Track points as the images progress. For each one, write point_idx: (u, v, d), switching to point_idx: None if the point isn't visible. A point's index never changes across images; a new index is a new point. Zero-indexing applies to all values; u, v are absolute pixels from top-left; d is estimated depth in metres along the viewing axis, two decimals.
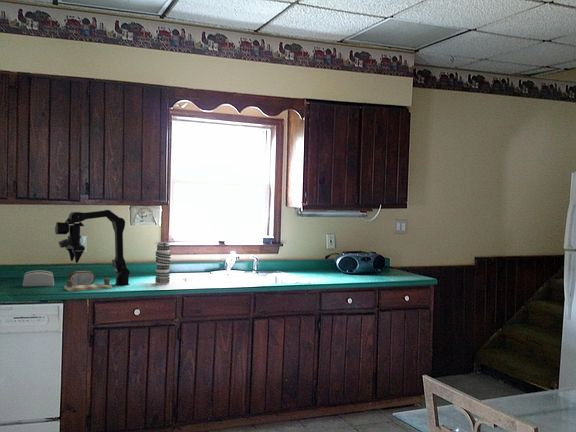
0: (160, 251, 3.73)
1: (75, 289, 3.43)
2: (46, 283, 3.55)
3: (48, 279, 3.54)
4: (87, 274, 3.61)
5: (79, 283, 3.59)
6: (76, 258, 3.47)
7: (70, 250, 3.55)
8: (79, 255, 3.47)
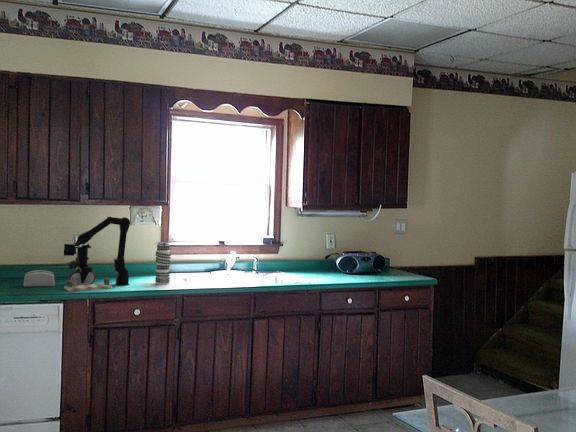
0: (160, 251, 3.73)
1: (75, 289, 3.43)
2: (47, 283, 3.55)
3: (49, 279, 3.54)
4: None
5: (79, 283, 3.59)
6: (82, 278, 3.58)
7: None
8: (85, 275, 3.59)
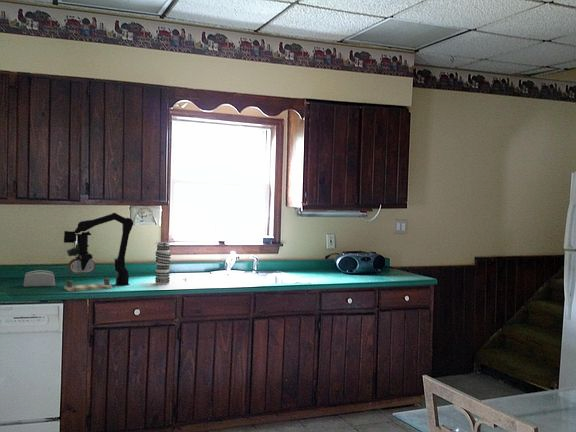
0: (160, 251, 3.73)
1: (75, 289, 3.43)
2: (47, 283, 3.55)
3: (49, 279, 3.55)
4: None
5: (79, 270, 3.59)
6: (82, 265, 3.58)
7: None
8: (85, 263, 3.59)
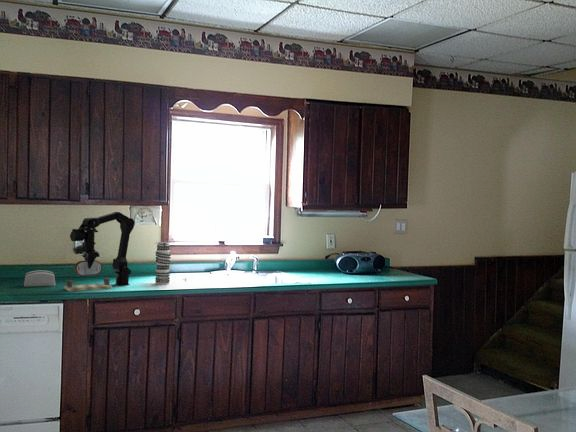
0: (160, 251, 3.73)
1: (75, 289, 3.43)
2: (47, 283, 3.55)
3: (49, 279, 3.55)
4: (93, 263, 3.51)
5: (86, 273, 3.49)
6: (89, 264, 3.49)
7: None
8: (92, 261, 3.49)
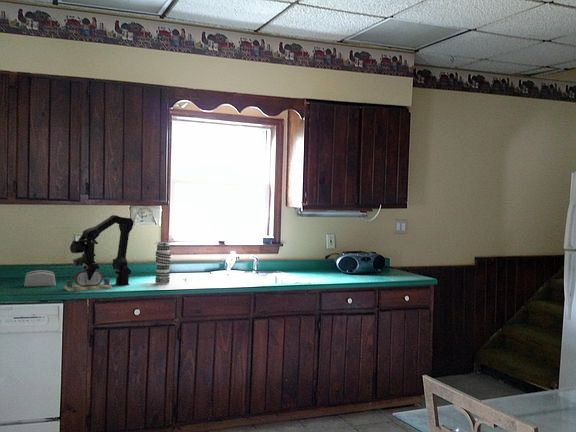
0: (160, 251, 3.73)
1: (75, 289, 3.43)
2: (48, 283, 3.55)
3: (50, 279, 3.55)
4: (94, 274, 3.51)
5: (86, 283, 3.49)
6: (89, 275, 3.49)
7: (86, 269, 3.52)
8: (92, 272, 3.49)
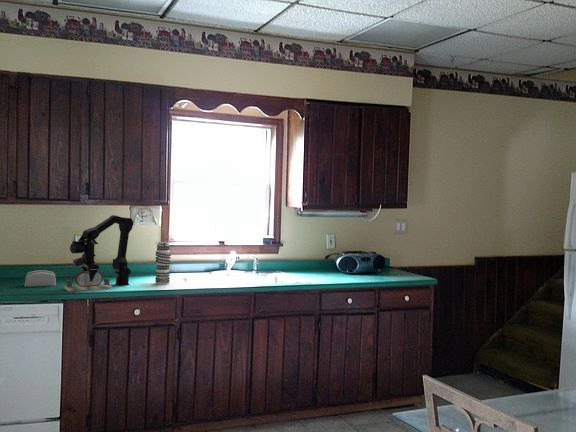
0: (160, 251, 3.73)
1: (75, 289, 3.43)
2: (48, 283, 3.55)
3: (50, 279, 3.55)
4: None
5: (86, 284, 3.49)
6: (90, 277, 3.46)
7: (84, 268, 3.54)
8: (93, 273, 3.46)
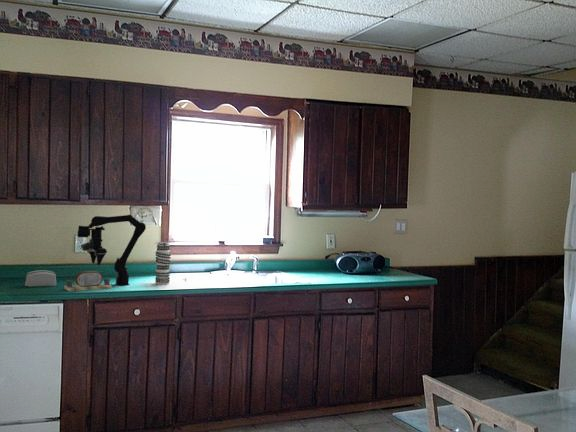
0: (160, 251, 3.73)
1: (75, 289, 3.43)
2: (49, 283, 3.56)
3: (51, 279, 3.55)
4: (94, 274, 3.51)
5: (86, 284, 3.49)
6: (98, 261, 3.60)
7: (91, 253, 3.68)
8: (101, 258, 3.60)
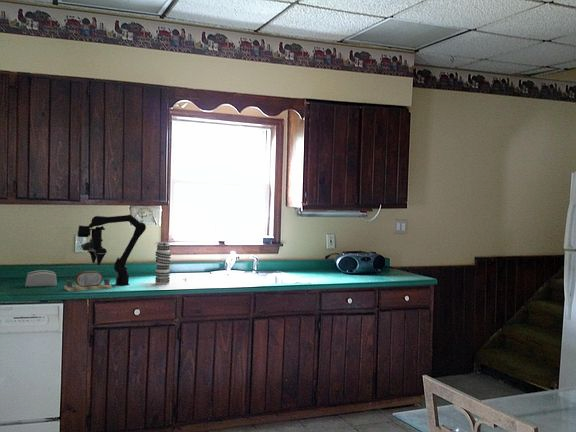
0: (160, 251, 3.73)
1: (75, 289, 3.43)
2: (49, 283, 3.56)
3: (51, 279, 3.55)
4: (94, 274, 3.51)
5: (86, 284, 3.49)
6: (98, 260, 3.60)
7: (92, 253, 3.68)
8: (101, 258, 3.61)
